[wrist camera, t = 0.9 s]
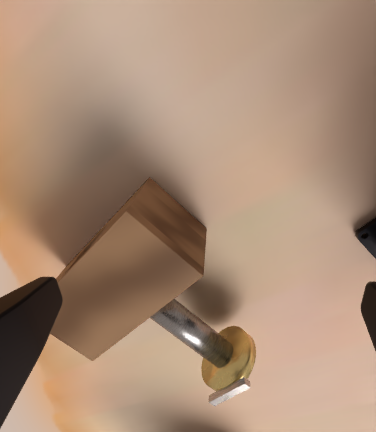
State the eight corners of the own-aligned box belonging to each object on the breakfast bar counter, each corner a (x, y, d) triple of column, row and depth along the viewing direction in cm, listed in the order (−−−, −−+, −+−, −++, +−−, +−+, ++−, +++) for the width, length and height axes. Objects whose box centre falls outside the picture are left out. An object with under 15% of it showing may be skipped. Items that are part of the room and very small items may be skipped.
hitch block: (206, 228, 22) (203, 276, 17) (117, 304, 27) (92, 361, 21) (149, 177, 21) (126, 211, 15) (66, 266, 25) (24, 317, 20)
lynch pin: (251, 322, 25) (261, 384, 20) (210, 348, 27) (208, 411, 22) (167, 251, 22) (152, 302, 17) (128, 286, 24) (104, 340, 19)
